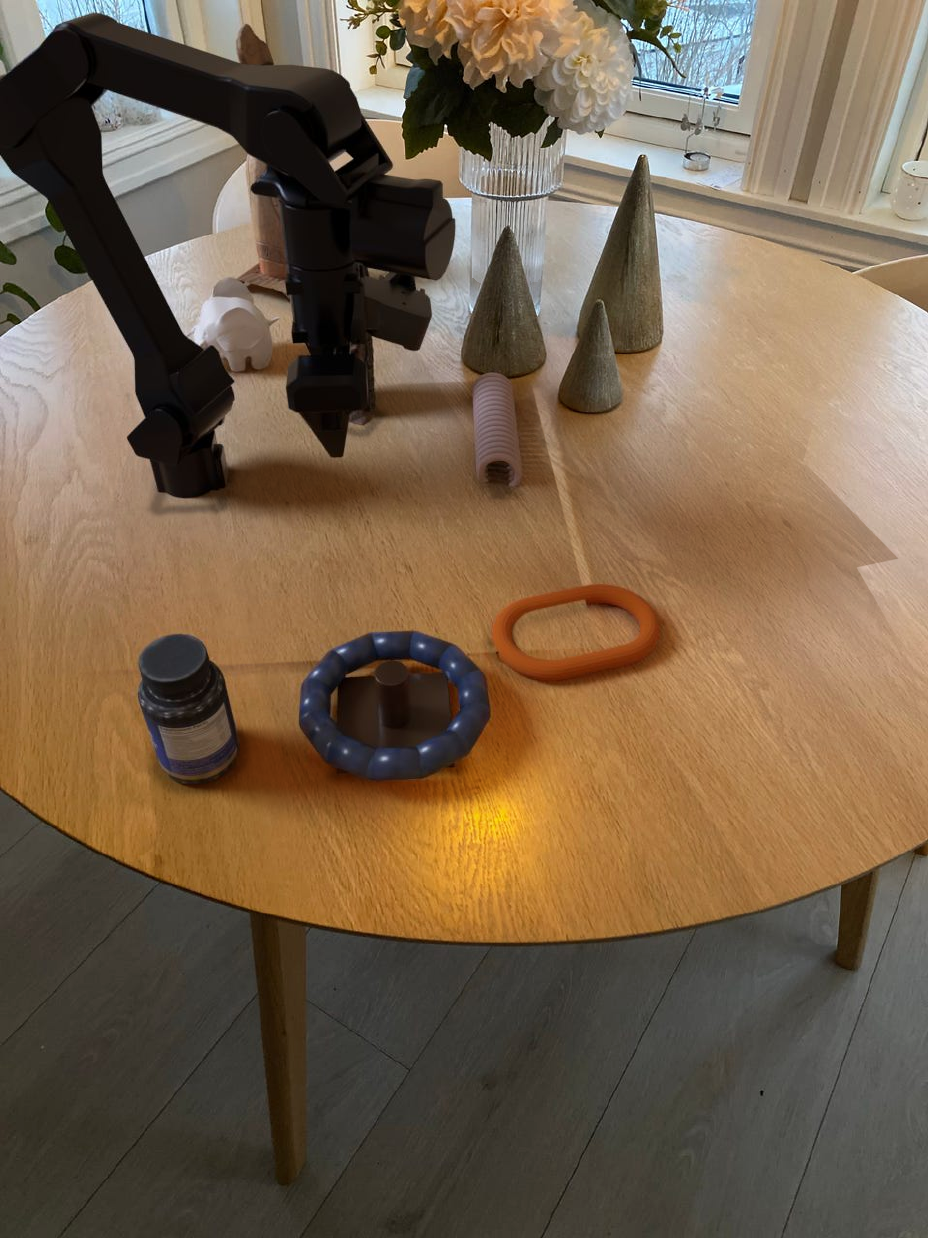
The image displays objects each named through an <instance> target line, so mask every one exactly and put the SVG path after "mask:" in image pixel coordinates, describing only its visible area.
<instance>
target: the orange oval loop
mask: <svg viewBox="0 0 928 1238" xmlns="http://www.w3.org/2000/svg"><path fill="white" fill-rule="evenodd" d="M583 600H585V605H591V604H607V605H613V606H616V607H619V608H621V609H623V610H625V611H626V612H628V613H630V614H631V615H632V616H633V617H634V618H635V619H636V621H637V623H638V625H639V632H638V635H637V636H636V638H635V639H633V640H631V641H630V642H628V643H624V644H621V645H618V646H613V647H609V648H605V649H599V650H596V651H591V652H586V653H582V654H578V655H573V656H569V657H568V656H567V657H564V658H563V657H562V658H559V659H543V658H538V657H534V656H531V655H529V654H527V653H525V652H523V651H522V650H520V649H519V648H518V647H517V646H516V644H515V643H514V642H513V639H512V636H511V635H512V634H511V632H512V631H511V630H512V627H513V624H514V623H515V622H516V620H517V619H518V618H519V617H521V616H522V615H524V614H526V613H529V612H532V611H536V610H540V609H546V608H549V607H554V606H558V605H563V604H568V603H574V602H578V601H583ZM660 631H661V629H660V621H659V618H658V615H657V613H656V612H655V609H653V607H652V606H651V605H650V604H649V602H648V601H647V600H645V599H644V598H643V597H642V596H640V595H639V594H637V593H635V592H634V591H632V590H629V589H627V588H625V587H621V586H618V585H613V584H607V583H606V584H605V583H593V584H586V585H581V586H576V587H570V588H566V589H561V590H556V591H550V592H547V593H541V594H537V595H536V594H535V595H532V596H528V597H523V598H520V599H518V600H515V601H513V602H512V603H510V604H508V605H507V606H506V607H504V608H503V609H502V610H501V611H500V612H499V613H498V615H497V616H496V617H495V619H494V622H493V625H492V628H491V637H492V642H493V645H494V646H495V648H496V651H495V654H496V655H497V657H498V658H499V659H500V661H502V663H503V664H504V665H506V666H507V667H508V668H510V669H511V670H512V671H514V672H516V673H517V674H520V675H522V676H525V677H527V678H531V679H534V680H538V681H539V680H540V681H561V680H566V679H571V678H576V677H581V676H584V675H588V674H594V673H599V672H602V671H606V670H611V669H615V668H619V667H623V666H627V665H631V664H634V663H636V662H638V661H640V660H642V659H644V658H645V657H647V656H648V655H649V654H651V652H652V651H653V649H654V648H655V647H656V645H657V643H658V641H659V638H660V634H661V633H660Z"/></svg>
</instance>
